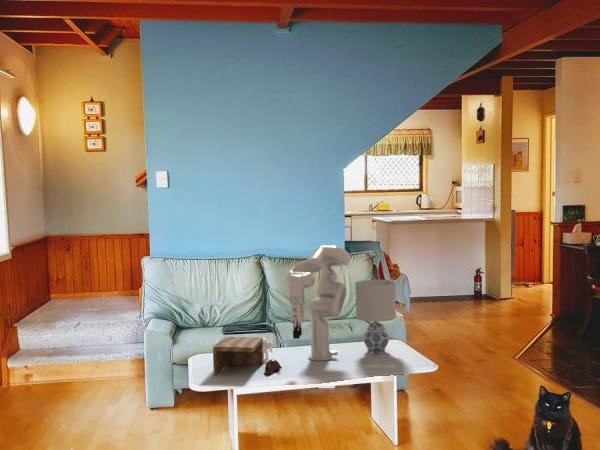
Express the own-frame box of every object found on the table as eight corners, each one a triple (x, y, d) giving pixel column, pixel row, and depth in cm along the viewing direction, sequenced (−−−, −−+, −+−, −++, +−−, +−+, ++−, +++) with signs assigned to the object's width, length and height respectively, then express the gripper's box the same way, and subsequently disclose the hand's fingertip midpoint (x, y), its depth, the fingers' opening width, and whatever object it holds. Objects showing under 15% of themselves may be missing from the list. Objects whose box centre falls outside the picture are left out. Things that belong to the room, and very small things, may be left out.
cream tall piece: (273, 357, 310) (272, 335, 309) (273, 359, 306) (273, 337, 305) (256, 358, 308) (255, 336, 308) (256, 360, 305) (255, 338, 304)
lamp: (394, 358, 303) (393, 286, 301) (353, 356, 308) (352, 285, 306) (398, 347, 324) (397, 280, 322) (359, 346, 329) (358, 279, 327)
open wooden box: (263, 364, 298) (262, 337, 297) (254, 376, 278) (253, 347, 278) (225, 363, 301) (224, 336, 300) (213, 375, 281) (212, 346, 281)
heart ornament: (274, 372, 293) (287, 363, 287) (260, 383, 283) (273, 374, 277) (266, 361, 294) (279, 352, 288) (253, 371, 284) (266, 363, 278)
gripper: (301, 303, 273) (302, 341, 274) (306, 296, 290) (307, 332, 291) (285, 303, 274) (286, 341, 275) (291, 296, 291) (292, 332, 292)
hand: (297, 336), depth 283 cm, fingers open, 5 cm apart
